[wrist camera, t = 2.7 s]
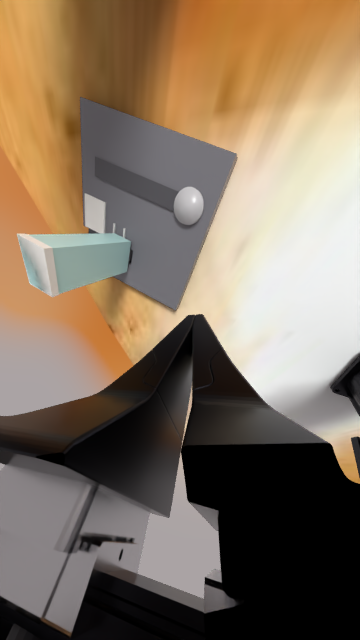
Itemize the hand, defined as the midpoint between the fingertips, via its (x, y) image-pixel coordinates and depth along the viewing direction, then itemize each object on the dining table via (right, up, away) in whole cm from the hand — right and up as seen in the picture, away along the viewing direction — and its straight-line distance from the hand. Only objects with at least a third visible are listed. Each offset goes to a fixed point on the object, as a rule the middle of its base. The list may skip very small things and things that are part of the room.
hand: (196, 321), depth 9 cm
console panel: (-6, +12, +10) cm, 16 cm away
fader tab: (-8, +9, +13) cm, 18 cm away
